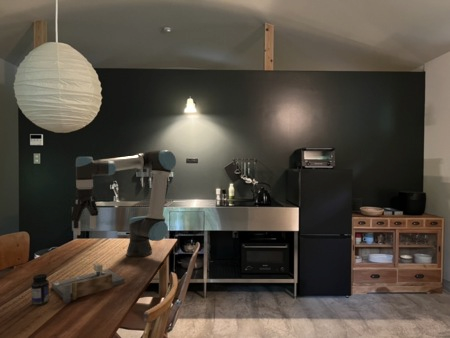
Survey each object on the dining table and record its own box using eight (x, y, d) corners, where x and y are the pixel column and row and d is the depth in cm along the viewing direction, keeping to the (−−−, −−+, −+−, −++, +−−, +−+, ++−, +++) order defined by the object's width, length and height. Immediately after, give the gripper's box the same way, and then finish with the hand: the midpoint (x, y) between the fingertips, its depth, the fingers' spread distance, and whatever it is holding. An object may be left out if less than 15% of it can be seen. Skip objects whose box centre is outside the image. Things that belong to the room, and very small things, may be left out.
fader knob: (98, 272, 153) (98, 262, 153) (102, 275, 150) (102, 264, 150) (93, 274, 151) (93, 263, 151) (97, 276, 148) (97, 265, 148)
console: (107, 273, 159) (107, 267, 159) (124, 282, 146) (124, 276, 146) (51, 287, 141) (51, 281, 141) (65, 299, 128) (64, 293, 128)
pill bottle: (45, 298, 129) (45, 272, 129) (51, 302, 126) (51, 275, 125) (28, 303, 125) (28, 276, 125) (34, 307, 121) (34, 279, 121)
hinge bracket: (68, 299, 128) (67, 282, 128) (70, 301, 126) (70, 284, 126) (62, 301, 127) (62, 284, 127) (65, 303, 125) (65, 286, 125)
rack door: (111, 287, 140) (110, 272, 140) (112, 288, 139) (112, 273, 139) (71, 298, 129) (71, 282, 128) (72, 300, 127) (72, 283, 127)
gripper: (91, 186, 164) (91, 226, 165) (61, 190, 140) (62, 237, 140) (104, 186, 164) (105, 226, 164) (76, 190, 139) (77, 238, 139)
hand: (85, 231), depth 152 cm, fingers open, 13 cm apart
